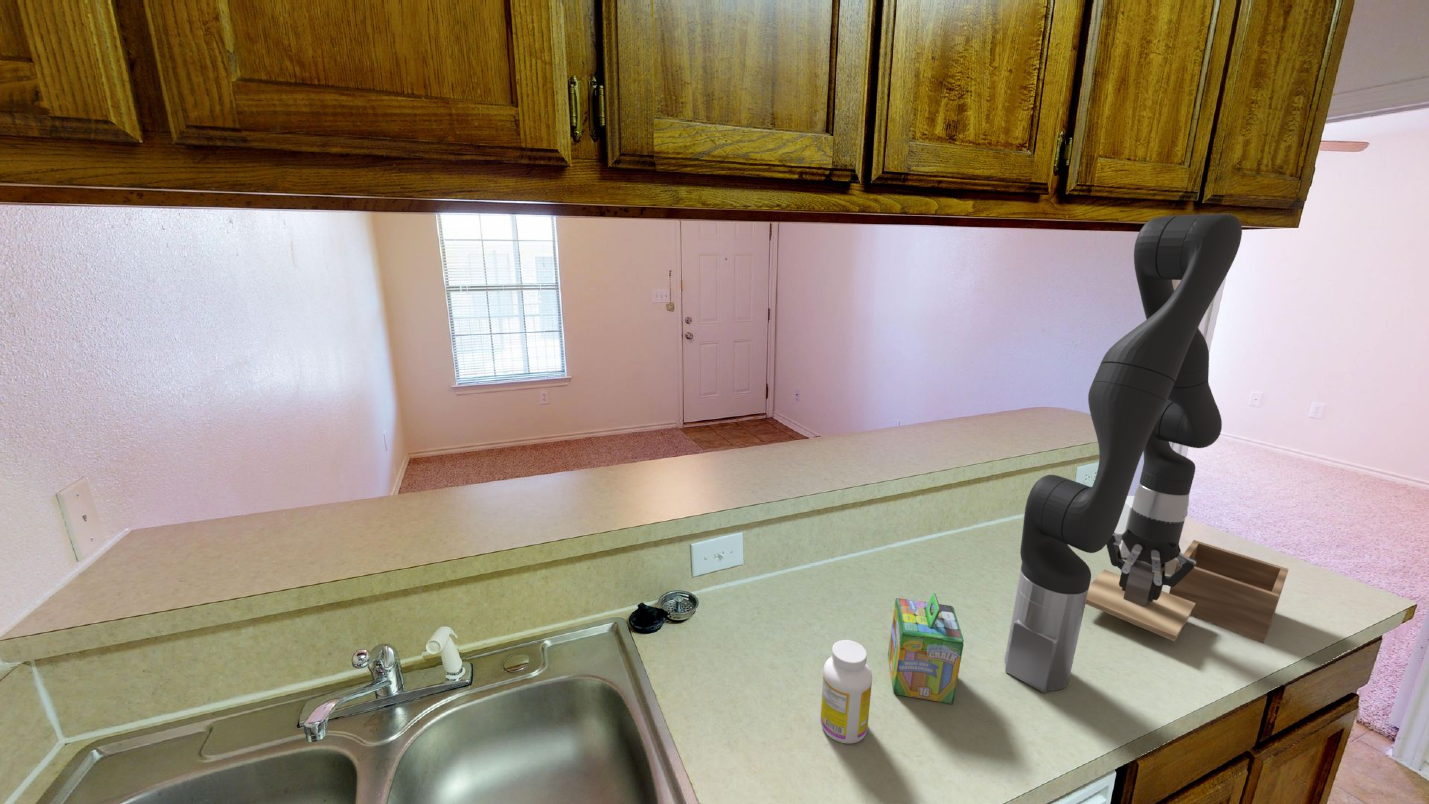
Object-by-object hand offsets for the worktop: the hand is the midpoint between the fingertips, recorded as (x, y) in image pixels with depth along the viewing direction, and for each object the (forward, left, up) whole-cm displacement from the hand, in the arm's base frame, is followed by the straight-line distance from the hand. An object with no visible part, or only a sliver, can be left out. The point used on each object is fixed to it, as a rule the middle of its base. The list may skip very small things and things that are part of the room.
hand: (1138, 594), depth 103 cm
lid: (0, 0, -2) cm, 2 cm away
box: (+17, -10, -5) cm, 20 cm away
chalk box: (-46, +17, -5) cm, 49 cm away
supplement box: (+29, +8, -5) cm, 30 cm away
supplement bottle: (-63, +19, -5) cm, 66 cm away
